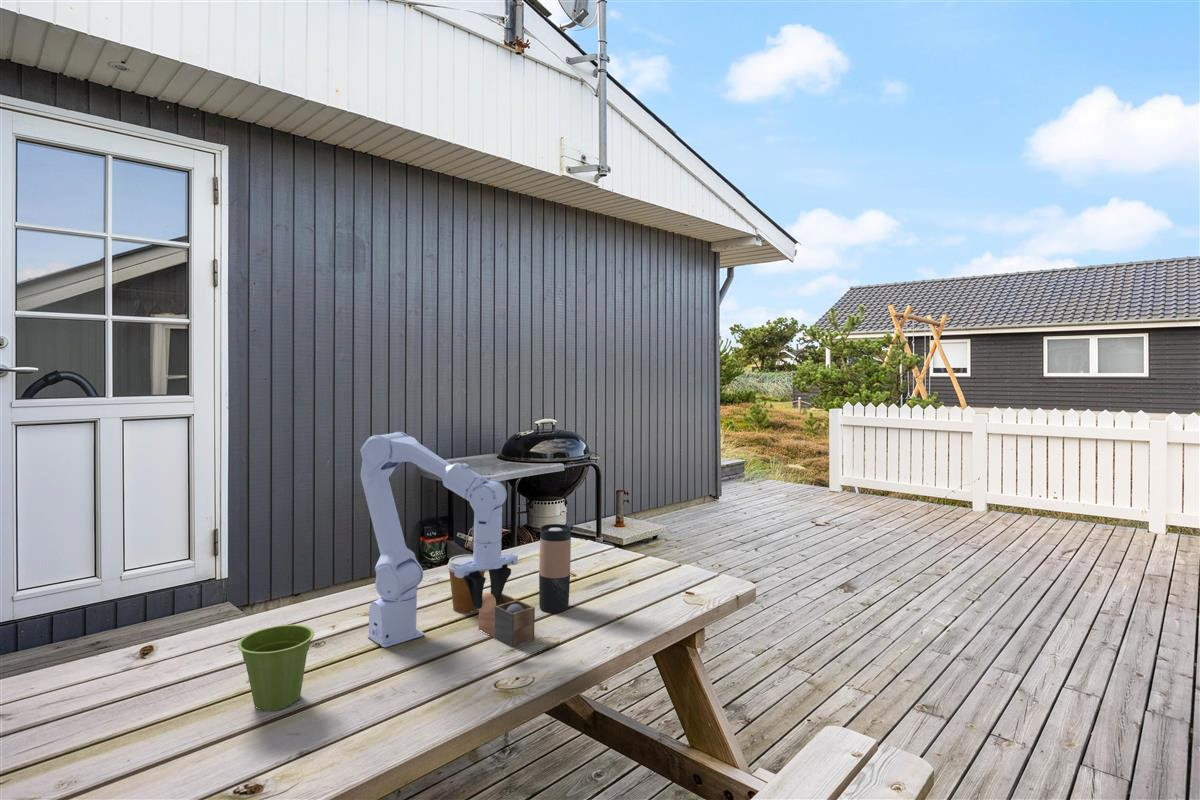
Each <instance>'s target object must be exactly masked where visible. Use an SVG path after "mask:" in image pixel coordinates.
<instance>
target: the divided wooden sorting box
mask: <svg viewBox="0 0 1200 800" xmlns="http://www.w3.org/2000/svg"><path fill="white" fill-rule="evenodd" d="M512 604H518V605H520V606H521V607H522V608H523V610H522V611H518V612H515V613H511V612H508V611H506V610H507V608H508V607H509V606H510V605H512ZM535 612H536V607H535V606H533V605H530V604H527V603H525V602H524V601H521V600H518V599H516V598H515V597H512V596H509V595H507V594H505V593H502V595H501V598H500V602H499V603H496V606H495V608H494V609H493V610H492V611H491V612H489V613H484V612H481V611H480V610H479V609H478V631H479V630H482V631H483V632H485V633H487V634H489V635H491V636H492V637H491V636H490V637H491V638H493V637H494V638H495V640H496V639H497V641H498V642H500V641H501V642H500V643H502V644H504V645H507V646H509V647H510V648H513V646H514V647H516V646H519V645H521V643H522V644H525V643H527V642H530V641H533V640H534V639H535V623H536V621H535V617H536V613H535ZM483 632H482V633H483ZM485 633H484V634H485ZM487 634H486V635H487ZM489 635H488V636H489ZM494 638H493V639H494ZM524 642H525V643H524Z"/></svg>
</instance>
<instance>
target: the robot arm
mask: <svg viewBox="0 0 1200 800" xmlns="http://www.w3.org/2000/svg"><path fill="white" fill-rule="evenodd" d="M359 451H360V456H361V459H362V461H361V469H360V480H361V484H362V488H363V492H364V495H365V500H366V503H367V507H368V511H369V515H370V519H371V524H372V526H373V531H374V535H375V539H376V542H377V547H378V550H379V554H380V556H379V558H378V560H377V562H376V565H374V566H375V567H374V570H375V581H374V585H375V590H376V592H377V594H378V595H379V596H380V598H378V599H377V600H374V601H372V602H371V603H370V605H369V609H368V633H367V635H366V636H367V637H368V639H371V640H372V641H374V642H375V643H377V645H379V644H380V646H381V647H382V648H388V647H391V646H394V645H398V644H402V643H405V642H408V641H411V640H414V639H417V638H420V637H423V635H424V636H425V632H423V631H422V630H420V629H419V628H417V618H418V617H417V615H418V613H417V611H418V610H417V609H418V608H417V606H418V605H417V604H418V603H417V602H418V601H417V600H418V599H417V597H418V595H417V594H418V587H419V585H420V584H421V583H422V581H423V579H424V570H423V567H422V566H421V564H420V563H419V561H418V560H417V558H416V554H415V552H414V551H412V549H409V548H408V547H407V544H406V541H405V537H404V533H403V529H402V525H401V521H400V517H399V513H398V510H397V507H396V503H395V498H394V495H393V490H392V486H391V483H390V480H389V479H390V477H391V476H392V473H393V472H394V470H395V468H396V467H398V466H399V465H400V464H402V463H405V462H407V463H408V462H410V463H413V464H414V465H416V466H418V467H420V468H422V469H424V470H425V471H428V472H430V473H432V474H433V475H435V476H437V477H438V478H441V479H442V484H443V485H442V486H444V487H445V488H447V489H448V490H450V491H452V492H453V493H455V494H456V495H457V496H460V497H461V498H462V499H464V500H466V501H468V502H469V506H471V508H472V510H473V517H474V518H473V520H474V521H473V552H472V553H473V554H472V555H473V560H471V561H469V562H467V563H464V564H462V565H459V566H455V573H454V576H456V577H458V578H464V580H465V582H466V584H467V586H468V588H469V591H470V594H471V598H472V603H473V606H474V607H476V608H478V610H479V608H481V607H482V594H483V592H484V586H485V583H486V579H487V577H485V576H484V577H482V576H481V574H480V572H483V571H485V572H486V571H488V574H489V580H490V593H491V594H492V595H493V596H494V597H495V599H496V603H499V602H500V598H501V595H502V594H503V592H504V591H503V590H504V587H505V585H506V583H507V580H509V578H510V575H512V568H510V567H509V566H511V565H512V566H513V565H514V566H516V565H518V563H519V561H518V560H519V559H518V558H519V556H518V555H517V554H515V553H509V554H502V537H503V535H502V531H503V506H502V505H503V504H505V502H506V500H507V497H508V493H507V489H506V487H505V486H504V484H502V482H500V481H499V480H498V479H489V480H488V477H487V476H486V475H485V474H484V475H481V474H479V473H478V472H475V471H474V470H472V469H470V468H469V467H470V465H469V464H467V463H465V462H463V463H460V462H455V463H452V464H451V463H449V462H448V461H447V460H445V459H443V458H442V457H440V456H439V455H437V454H436V453H434V452H433V451H431V450H430V449H429V448H428V447H426V446H424V445H423V444H421V443H420V442H419V441H418V440H417V439H416V438H415V437H413V436H409V435H408V434H407V433H405V432H403V431H394V432H393V433H386V434H380V435H379V434H374V435H372V436H370V437H368V438H367V439H366V441H364V443H363V445H362V447H360V449H359Z"/></svg>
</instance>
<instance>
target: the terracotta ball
mask: <svg viewBox="0 0 1200 800" xmlns="http://www.w3.org/2000/svg"><path fill="white" fill-rule="evenodd" d="M495 606H496V599H495V597H494V596H493V595H492V594H491V592H484V593H483V594H482V607H481V608H479V609H478V611H479V610H480V611H481V612H484V613H489V612H491V611H492V610H493V609H494V608H495Z"/></svg>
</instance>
